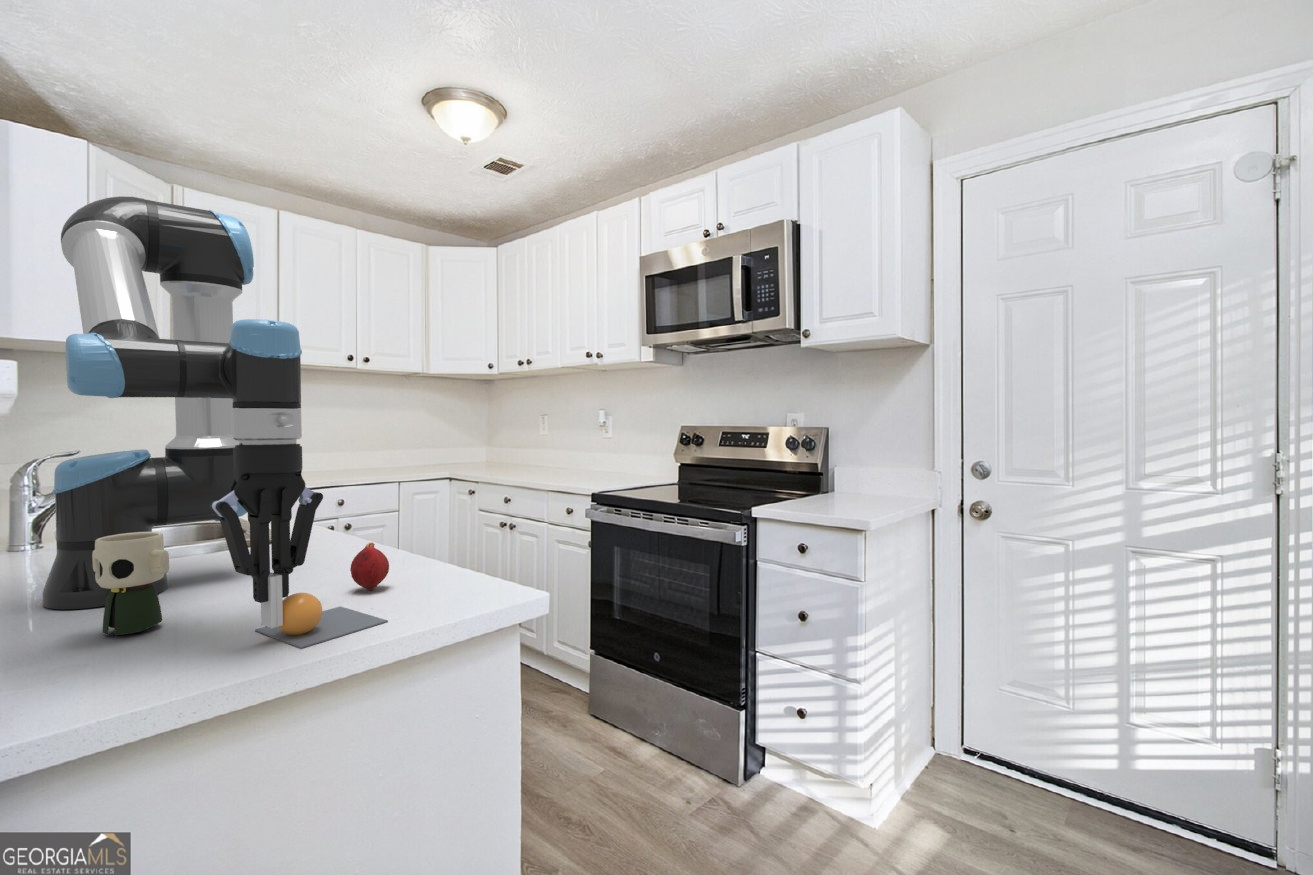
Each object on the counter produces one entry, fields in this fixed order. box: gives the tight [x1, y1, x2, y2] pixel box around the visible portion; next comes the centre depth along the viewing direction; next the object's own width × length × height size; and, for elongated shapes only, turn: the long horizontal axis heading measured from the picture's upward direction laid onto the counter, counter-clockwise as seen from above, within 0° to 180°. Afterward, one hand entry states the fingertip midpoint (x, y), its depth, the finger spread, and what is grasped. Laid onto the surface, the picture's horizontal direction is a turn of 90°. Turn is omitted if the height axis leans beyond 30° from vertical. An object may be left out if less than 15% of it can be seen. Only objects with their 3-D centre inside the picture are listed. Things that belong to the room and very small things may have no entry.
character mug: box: [92, 531, 170, 636], centre depth 85 cm, size 11×7×13 cm, turn 85°
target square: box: [254, 605, 389, 649], centre depth 87 cm, size 12×12×1 cm
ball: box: [278, 592, 323, 635], centre depth 83 cm, size 6×6×6 cm
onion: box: [350, 541, 390, 591], centre depth 104 cm, size 6×6×8 cm
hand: (272, 624), depth 81 cm, fingers closed
